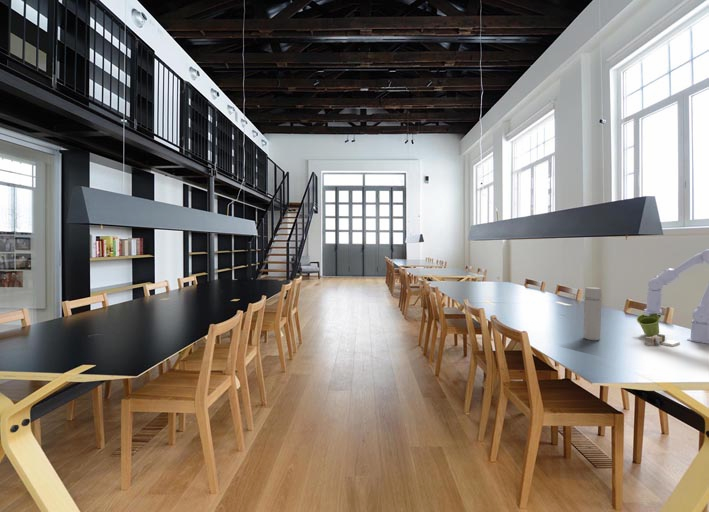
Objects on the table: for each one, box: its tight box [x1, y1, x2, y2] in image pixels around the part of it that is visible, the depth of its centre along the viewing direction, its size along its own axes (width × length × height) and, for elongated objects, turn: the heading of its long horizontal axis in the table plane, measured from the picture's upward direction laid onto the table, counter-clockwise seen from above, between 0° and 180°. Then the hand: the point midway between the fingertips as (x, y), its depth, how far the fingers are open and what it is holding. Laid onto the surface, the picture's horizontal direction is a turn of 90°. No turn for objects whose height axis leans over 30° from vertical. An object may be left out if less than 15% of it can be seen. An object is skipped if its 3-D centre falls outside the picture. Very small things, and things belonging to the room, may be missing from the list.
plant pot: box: [636, 313, 661, 337], centre depth 196 cm, size 9×9×9 cm
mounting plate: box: [661, 339, 681, 347], centre depth 181 cm, size 4×8×1 cm, turn 122°
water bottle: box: [582, 286, 603, 341], centre depth 191 cm, size 9×8×25 cm
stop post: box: [654, 337, 661, 346], centre depth 180 cm, size 2×2×4 cm
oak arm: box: [643, 333, 666, 346], centre depth 183 cm, size 12×3×4 cm, turn 114°
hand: (651, 328), depth 199 cm, fingers closed, pressing on plant pot
